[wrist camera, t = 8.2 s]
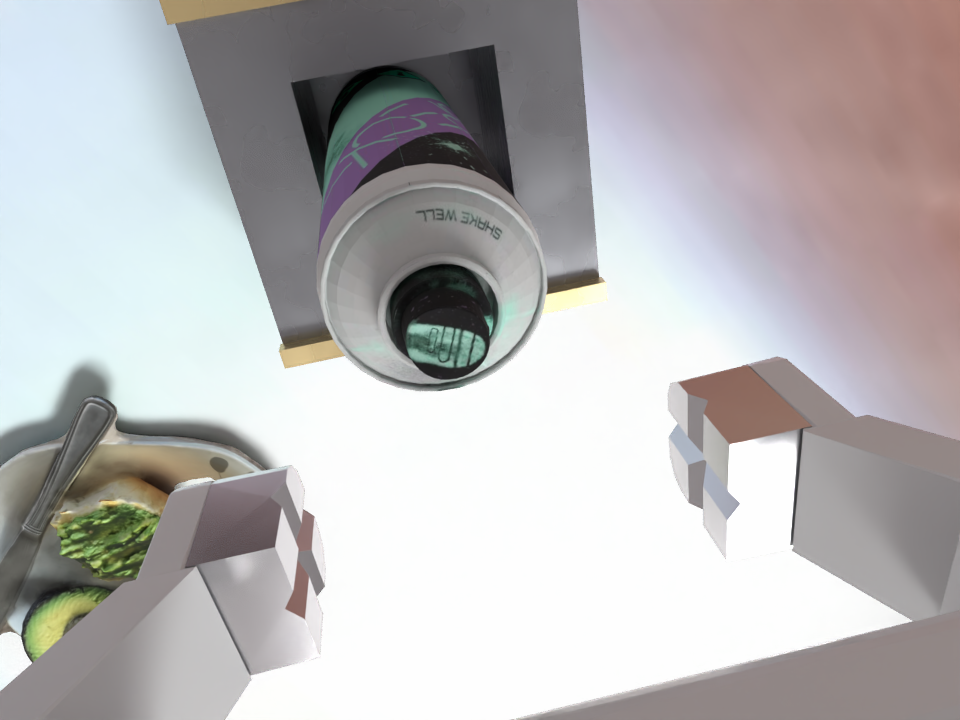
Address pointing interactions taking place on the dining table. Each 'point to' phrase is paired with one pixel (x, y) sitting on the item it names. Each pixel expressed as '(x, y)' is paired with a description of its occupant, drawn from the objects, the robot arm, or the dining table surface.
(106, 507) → the salad plate
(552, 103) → the socket block
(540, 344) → the dining table surface
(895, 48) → the dining table surface
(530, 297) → the spray can
